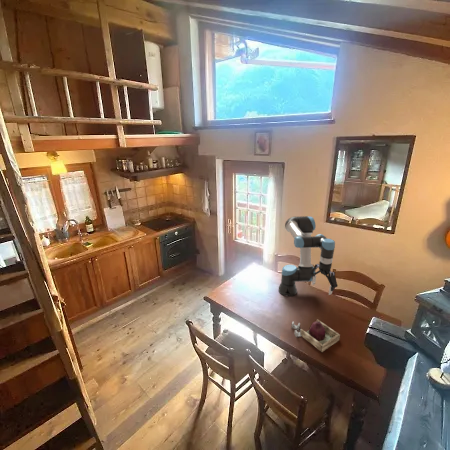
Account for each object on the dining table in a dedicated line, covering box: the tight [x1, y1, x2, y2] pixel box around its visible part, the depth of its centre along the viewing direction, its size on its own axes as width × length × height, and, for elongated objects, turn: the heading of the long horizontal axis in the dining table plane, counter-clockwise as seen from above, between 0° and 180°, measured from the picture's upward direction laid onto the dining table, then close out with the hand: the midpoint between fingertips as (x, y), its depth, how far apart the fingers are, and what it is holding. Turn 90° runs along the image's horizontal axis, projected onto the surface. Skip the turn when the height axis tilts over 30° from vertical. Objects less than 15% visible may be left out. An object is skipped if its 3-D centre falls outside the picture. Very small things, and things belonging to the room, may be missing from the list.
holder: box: [299, 318, 341, 353], centre depth 163 cm, size 17×17×4 cm
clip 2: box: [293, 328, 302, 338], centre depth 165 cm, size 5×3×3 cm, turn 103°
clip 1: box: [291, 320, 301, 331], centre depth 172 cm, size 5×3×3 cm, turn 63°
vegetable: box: [308, 320, 325, 341], centre depth 162 cm, size 10×10×15 cm
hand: (321, 288), depth 170 cm, fingers open, 13 cm apart
